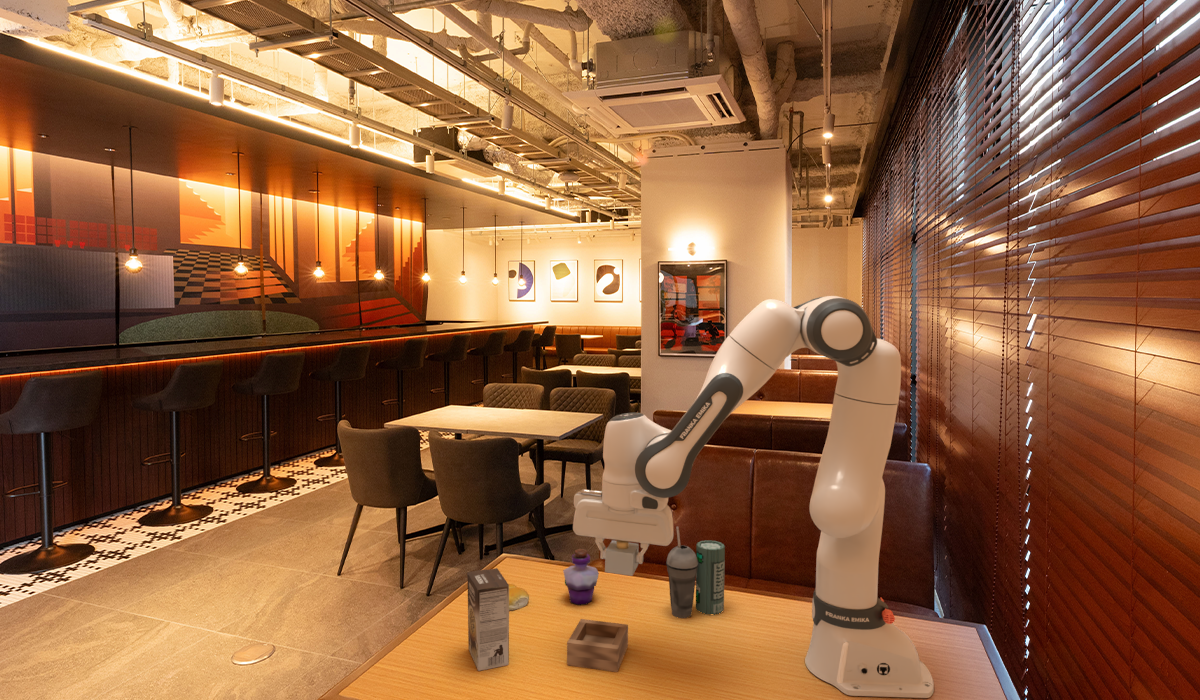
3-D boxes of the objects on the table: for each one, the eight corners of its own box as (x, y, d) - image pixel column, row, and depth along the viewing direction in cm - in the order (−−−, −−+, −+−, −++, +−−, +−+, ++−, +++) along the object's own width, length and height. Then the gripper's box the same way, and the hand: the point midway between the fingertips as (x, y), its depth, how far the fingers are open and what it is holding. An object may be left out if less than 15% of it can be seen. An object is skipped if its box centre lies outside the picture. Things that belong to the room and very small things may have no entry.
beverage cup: (696, 622, 144) (698, 533, 143) (663, 619, 146) (664, 531, 145) (698, 608, 151) (699, 523, 150) (667, 605, 153) (668, 520, 152)
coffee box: (467, 649, 133) (466, 571, 132) (498, 643, 135) (497, 566, 134) (477, 672, 124) (476, 589, 123) (510, 665, 127) (509, 583, 126)
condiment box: (627, 645, 134) (628, 624, 134) (617, 672, 125) (617, 649, 124) (580, 639, 137) (580, 618, 136) (567, 665, 127) (567, 642, 127)
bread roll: (511, 592, 160) (511, 576, 160) (534, 603, 154) (534, 587, 154) (483, 602, 154) (483, 585, 154) (505, 615, 148) (505, 597, 148)
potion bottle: (567, 590, 160) (567, 542, 160) (602, 594, 159) (602, 545, 158) (558, 606, 152) (558, 555, 151) (594, 610, 150) (595, 558, 149)
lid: (638, 564, 135) (638, 537, 134) (632, 575, 129) (633, 547, 129) (611, 561, 136) (612, 534, 135) (604, 572, 131) (605, 544, 130)
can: (706, 600, 155) (707, 538, 154) (728, 608, 151) (729, 545, 150) (691, 608, 151) (691, 545, 150) (713, 617, 147) (714, 552, 146)
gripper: (569, 492, 131) (567, 559, 132) (671, 503, 126) (668, 573, 127) (578, 484, 137) (576, 548, 138) (676, 494, 132) (673, 560, 133)
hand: (621, 560), depth 132 cm, fingers closed on lid, 6 cm apart
